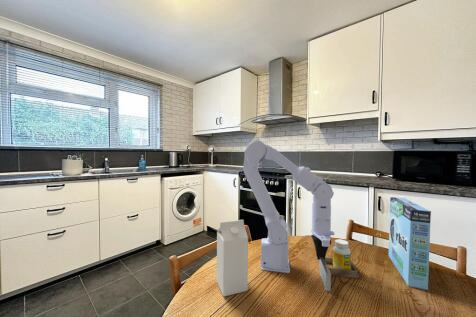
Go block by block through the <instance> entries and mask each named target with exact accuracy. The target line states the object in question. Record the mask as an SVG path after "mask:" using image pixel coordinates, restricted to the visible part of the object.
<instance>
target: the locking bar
mask: <svg viewBox="0 0 476 317" xmlns="http://www.w3.org/2000/svg"><path fill="white" fill-rule="evenodd" d="M318 263H319V264H318V265H319V267H318V269H319V270H318V272H319V275H320V278H321V280H322V284H323V287H324V289H325V292H328V293H330V292H331V291H332V288H331V286H332V284H331V283H332V275H331V273H330V271H329V269H328V268H329V266H328V265H327V264H328V263H326V262H325V260H324V257H319V262H318Z"/></svg>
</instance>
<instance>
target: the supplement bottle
mask: <svg viewBox="0 0 476 317" xmlns="http://www.w3.org/2000/svg"><path fill="white" fill-rule="evenodd" d="M332 258H333V264H332V268H335V269H344V270H351V261H352V252H351V249H350V248H349V242H348V241H347V240H344V239H339V238H338V239H335V240H334V246H333V247H332Z"/></svg>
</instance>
